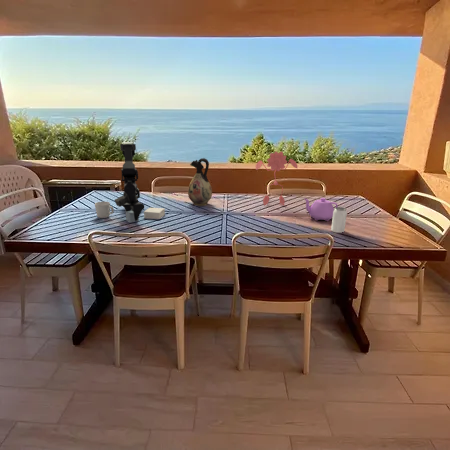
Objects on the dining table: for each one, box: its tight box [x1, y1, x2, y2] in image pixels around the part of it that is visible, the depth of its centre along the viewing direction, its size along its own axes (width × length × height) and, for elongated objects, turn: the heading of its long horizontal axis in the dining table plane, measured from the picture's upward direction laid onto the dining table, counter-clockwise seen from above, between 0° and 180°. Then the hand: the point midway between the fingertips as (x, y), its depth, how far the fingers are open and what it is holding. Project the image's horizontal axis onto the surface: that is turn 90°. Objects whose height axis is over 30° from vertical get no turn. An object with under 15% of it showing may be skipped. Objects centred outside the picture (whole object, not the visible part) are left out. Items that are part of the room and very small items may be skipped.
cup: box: [94, 201, 115, 219], centre depth 192 cm, size 11×8×8 cm
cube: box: [125, 210, 140, 224], centre depth 188 cm, size 5×5×5 cm
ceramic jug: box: [187, 157, 213, 207], centre depth 219 cm, size 17×15×30 cm
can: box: [330, 206, 348, 234], centre depth 176 cm, size 6×6×12 cm
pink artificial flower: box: [255, 150, 298, 211], centre depth 216 cm, size 15×26×35 cm, turn 89°
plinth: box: [143, 207, 166, 220], centre depth 196 cm, size 9×9×4 cm
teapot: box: [303, 197, 339, 222], centre depth 196 cm, size 20×14×12 cm
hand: (132, 218), depth 188 cm, fingers open, 9 cm apart
